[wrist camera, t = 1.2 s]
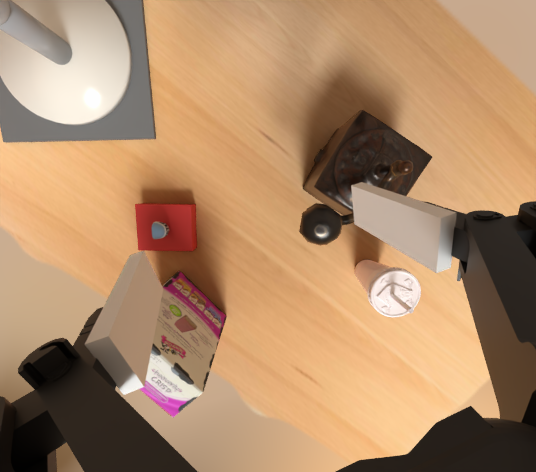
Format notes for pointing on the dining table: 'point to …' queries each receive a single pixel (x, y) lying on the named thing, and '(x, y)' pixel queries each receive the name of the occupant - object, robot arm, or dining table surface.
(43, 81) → the lid
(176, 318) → the candy bar box
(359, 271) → the smoothie
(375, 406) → the dining table surface
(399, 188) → the coffee grinder
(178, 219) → the red rectangular block
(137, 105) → the mat
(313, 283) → the dining table surface
